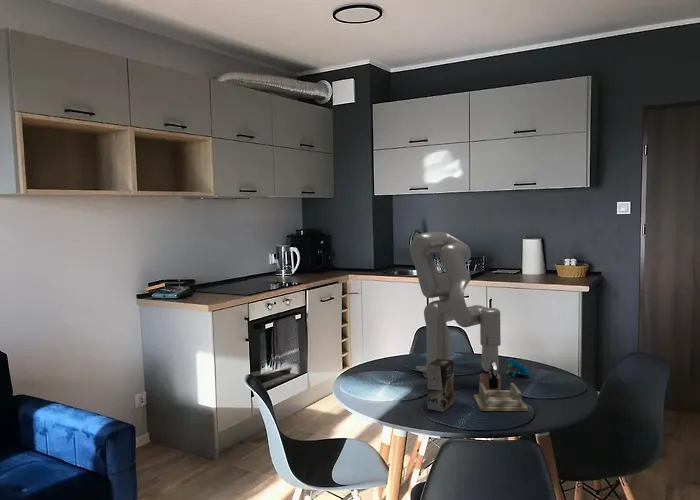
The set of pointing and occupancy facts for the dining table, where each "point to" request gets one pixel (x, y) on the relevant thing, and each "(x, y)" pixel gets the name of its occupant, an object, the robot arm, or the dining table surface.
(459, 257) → the robot arm
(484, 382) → the brown block
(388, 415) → the dining table surface
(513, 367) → the toy dinosaur
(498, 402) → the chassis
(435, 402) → the coffee box
